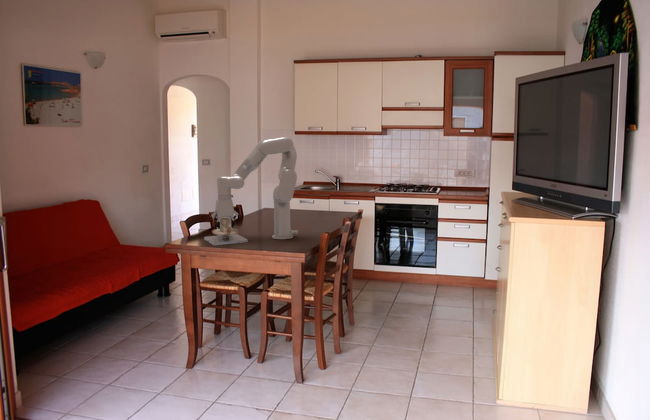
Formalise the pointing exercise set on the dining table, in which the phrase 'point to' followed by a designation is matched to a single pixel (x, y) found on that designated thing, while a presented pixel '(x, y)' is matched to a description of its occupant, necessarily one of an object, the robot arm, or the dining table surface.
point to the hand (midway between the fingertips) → (225, 227)
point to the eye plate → (225, 239)
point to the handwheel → (225, 228)
